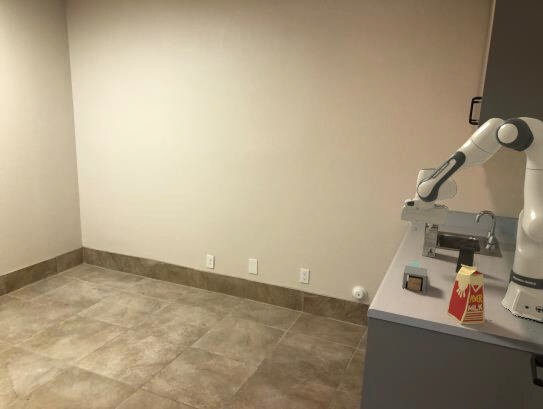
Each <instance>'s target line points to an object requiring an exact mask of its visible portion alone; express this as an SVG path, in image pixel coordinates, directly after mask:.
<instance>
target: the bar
mask: <svg viewBox="0 0 543 409" xmlns="http://www.w3.org/2000/svg"><path fill="white" fill-rule="evenodd" d="M409 266H413V267H419V268H421V265H420V262H418V261H409ZM422 285H423V277H422V278H421V286H422Z"/></svg>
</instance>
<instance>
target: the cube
mask: <svg viewBox="0 0 543 409" xmlns="http://www.w3.org/2000/svg"><path fill="white" fill-rule="evenodd" d="M421 278H422V277H417V276H411V275H408V276H407V284H406V289H408V290H413V291H414V290H415V291H421V286H422V285H421Z"/></svg>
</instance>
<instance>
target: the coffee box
mask: <svg viewBox="0 0 543 409" xmlns="http://www.w3.org/2000/svg"><path fill="white" fill-rule="evenodd" d="M424 225H425V226H424V233H423V240H422V249H421V250H422V252H421V256H423V257H429V258H436V256H435V255H436V250H437V241H438V235H439V234H438V233H439V225H437V224H432V227H431V228H430V229H429V233H426V228H429V224H428V223H424Z"/></svg>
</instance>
